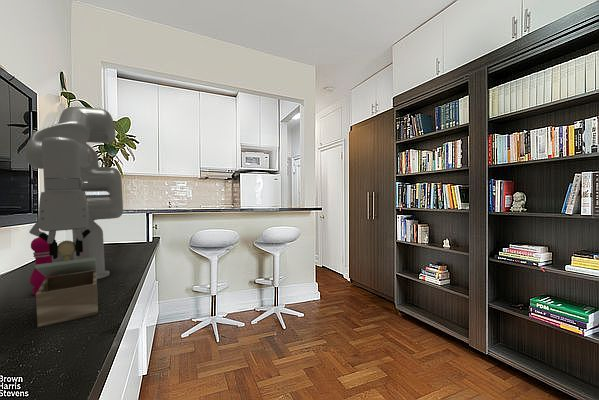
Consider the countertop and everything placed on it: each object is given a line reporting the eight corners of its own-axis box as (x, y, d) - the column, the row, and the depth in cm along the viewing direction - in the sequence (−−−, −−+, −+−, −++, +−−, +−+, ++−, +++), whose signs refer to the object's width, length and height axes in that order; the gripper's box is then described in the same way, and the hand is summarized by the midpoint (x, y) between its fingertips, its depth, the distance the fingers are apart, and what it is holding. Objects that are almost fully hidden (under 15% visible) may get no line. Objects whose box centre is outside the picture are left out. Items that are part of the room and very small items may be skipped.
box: (47, 305, 86) (45, 277, 86) (97, 295, 93) (96, 270, 93) (37, 327, 71) (35, 294, 71) (98, 314, 78) (96, 284, 78)
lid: (45, 277, 86) (45, 255, 88) (96, 269, 93) (95, 249, 94) (34, 267, 71) (34, 241, 73) (95, 259, 78) (94, 236, 80)
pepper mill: (43, 296, 94) (39, 233, 93) (24, 295, 95) (21, 233, 95) (65, 289, 101) (62, 230, 101) (48, 288, 103) (44, 230, 102)
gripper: (101, 186, 85) (105, 250, 86) (22, 187, 76) (26, 259, 76) (102, 185, 79) (105, 254, 79) (15, 186, 69) (20, 264, 70)
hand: (67, 256), depth 78 cm, fingers closed on lid, 4 cm apart
